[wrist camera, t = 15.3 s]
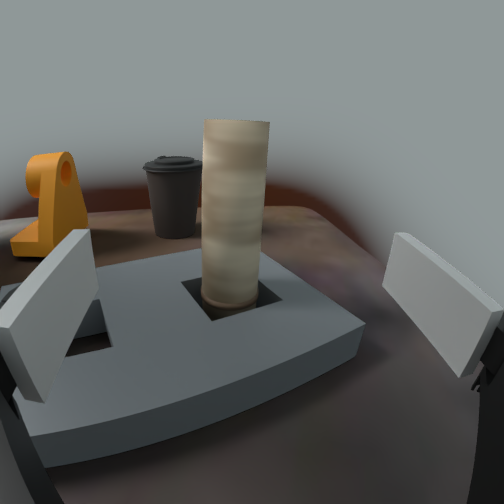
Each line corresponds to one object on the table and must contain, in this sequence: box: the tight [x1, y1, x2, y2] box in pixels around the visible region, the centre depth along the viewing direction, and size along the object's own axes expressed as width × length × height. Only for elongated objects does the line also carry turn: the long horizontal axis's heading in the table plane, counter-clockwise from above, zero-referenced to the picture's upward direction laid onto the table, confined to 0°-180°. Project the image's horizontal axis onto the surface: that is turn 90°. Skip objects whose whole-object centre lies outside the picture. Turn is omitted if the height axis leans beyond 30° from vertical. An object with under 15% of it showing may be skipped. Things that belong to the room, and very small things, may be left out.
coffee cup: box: [143, 156, 203, 239], centre depth 40 cm, size 8×8×10 cm
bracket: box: [10, 152, 88, 257], centre depth 33 cm, size 11×7×12 cm, turn 5°
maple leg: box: [201, 119, 270, 321], centre depth 21 cm, size 4×4×15 cm
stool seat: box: [0, 248, 366, 468], centre depth 21 cm, size 24×16×3 cm, turn 122°
